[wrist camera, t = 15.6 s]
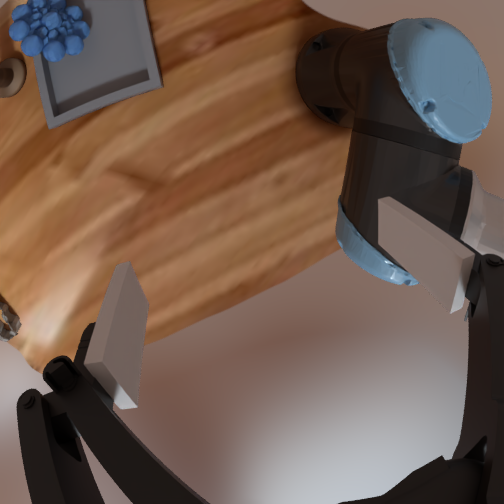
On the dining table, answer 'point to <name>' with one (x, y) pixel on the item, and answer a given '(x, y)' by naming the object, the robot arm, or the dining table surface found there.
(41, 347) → the dining table surface
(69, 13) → the grapes
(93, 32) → the holder tray
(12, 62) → the post
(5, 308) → the egg carton
